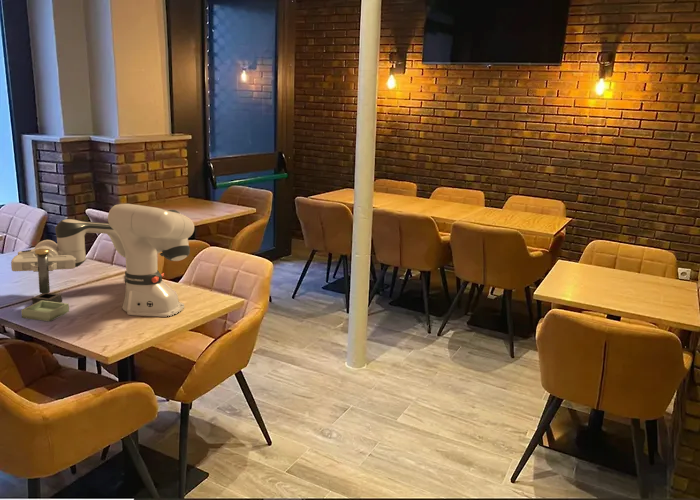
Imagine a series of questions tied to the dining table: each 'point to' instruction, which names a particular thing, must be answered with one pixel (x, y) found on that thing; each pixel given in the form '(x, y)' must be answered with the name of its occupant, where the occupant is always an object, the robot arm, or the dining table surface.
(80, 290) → the dining table surface
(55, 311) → the tray
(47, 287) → the lock pin
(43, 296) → the pin collar
